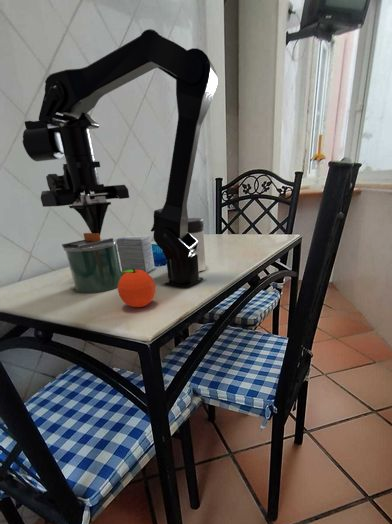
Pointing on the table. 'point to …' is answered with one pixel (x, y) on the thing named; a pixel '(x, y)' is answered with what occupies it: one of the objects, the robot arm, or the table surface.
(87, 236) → the slider
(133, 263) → the medicine box
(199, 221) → the jar
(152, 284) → the clementine
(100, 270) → the canister
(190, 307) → the table surface
